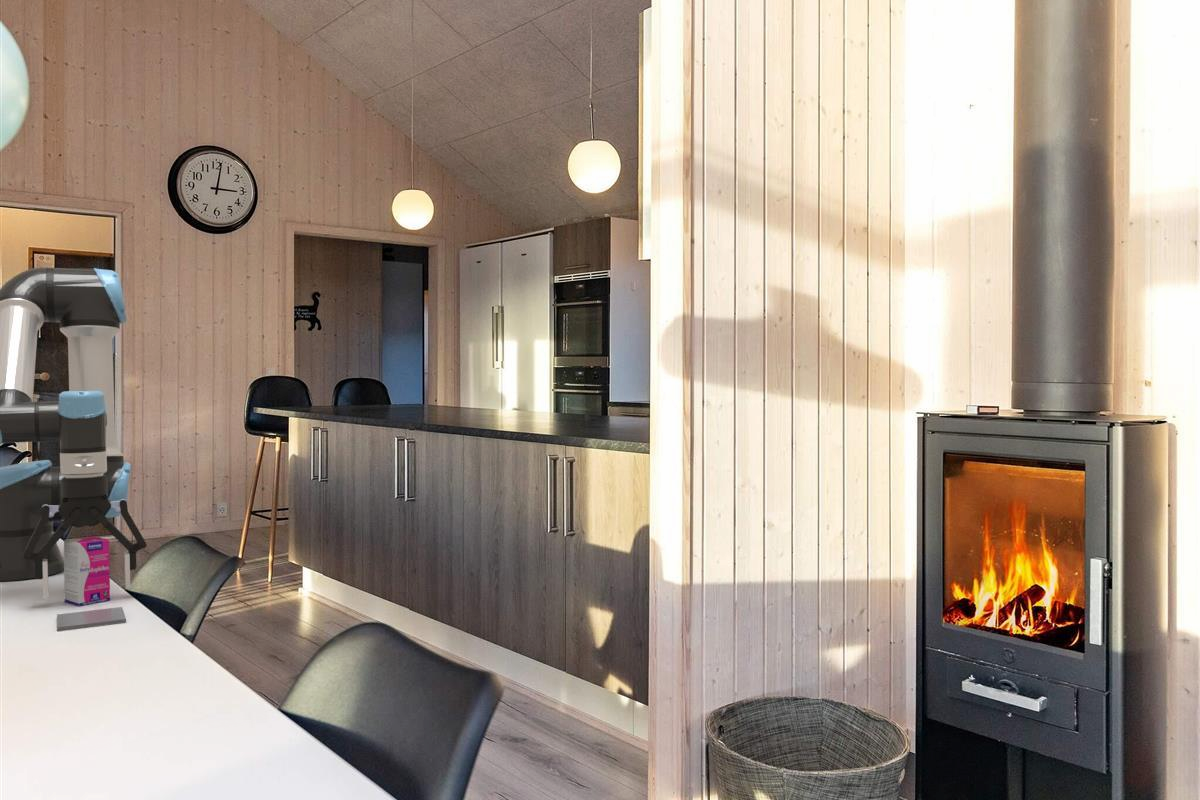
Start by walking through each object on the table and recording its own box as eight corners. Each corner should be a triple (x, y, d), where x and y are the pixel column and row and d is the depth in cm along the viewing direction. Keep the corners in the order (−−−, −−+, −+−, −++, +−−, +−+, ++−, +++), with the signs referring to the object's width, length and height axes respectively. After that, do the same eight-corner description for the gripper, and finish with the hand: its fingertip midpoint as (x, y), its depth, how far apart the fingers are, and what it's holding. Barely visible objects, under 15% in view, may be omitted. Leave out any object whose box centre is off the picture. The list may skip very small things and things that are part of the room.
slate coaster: (57, 617, 167) (56, 614, 167) (122, 610, 172) (122, 606, 172) (57, 631, 158) (57, 627, 158) (126, 622, 163) (125, 618, 163)
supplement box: (79, 606, 175) (77, 543, 174) (63, 602, 178) (61, 540, 178) (111, 600, 179) (110, 538, 179) (96, 596, 183) (94, 535, 183)
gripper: (4, 481, 169) (8, 604, 169) (160, 472, 181) (163, 587, 181) (5, 478, 175) (9, 596, 176) (156, 469, 187) (159, 580, 188)
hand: (87, 592), depth 179 cm, fingers open, 12 cm apart
